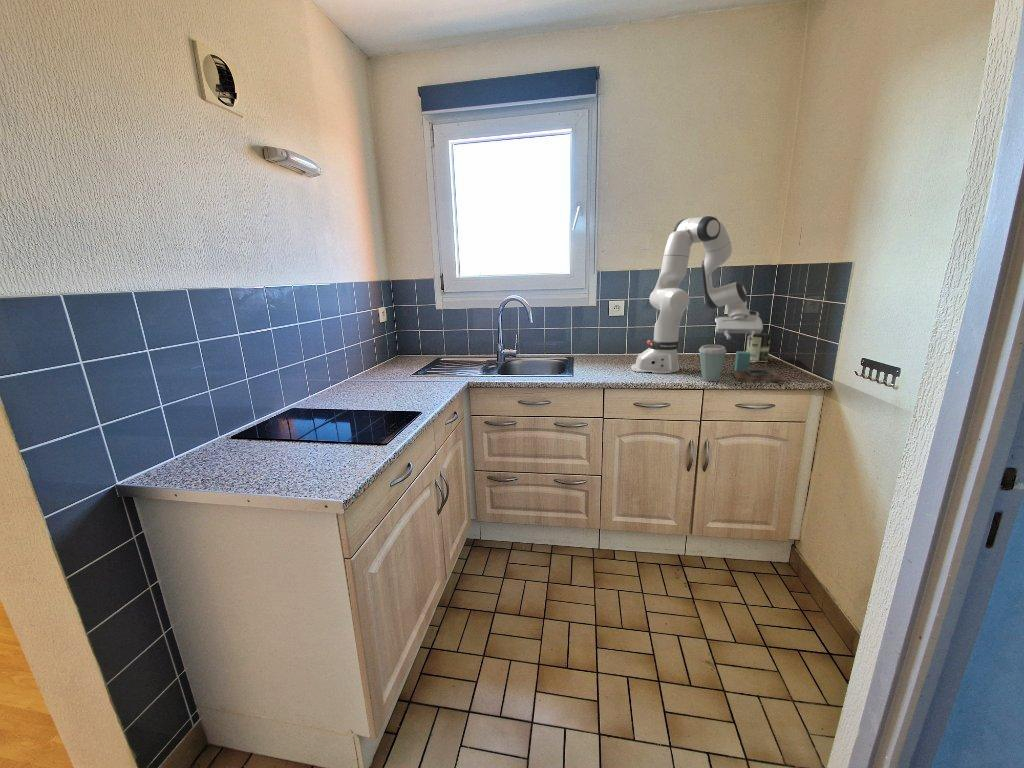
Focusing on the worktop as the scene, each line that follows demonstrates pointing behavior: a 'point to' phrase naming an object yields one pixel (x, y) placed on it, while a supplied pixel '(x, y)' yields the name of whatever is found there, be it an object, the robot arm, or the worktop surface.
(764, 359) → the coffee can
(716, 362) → the disposable coffee cup
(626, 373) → the worktop surface
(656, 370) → the robot arm
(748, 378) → the base board
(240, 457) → the worktop surface
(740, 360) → the pillar
